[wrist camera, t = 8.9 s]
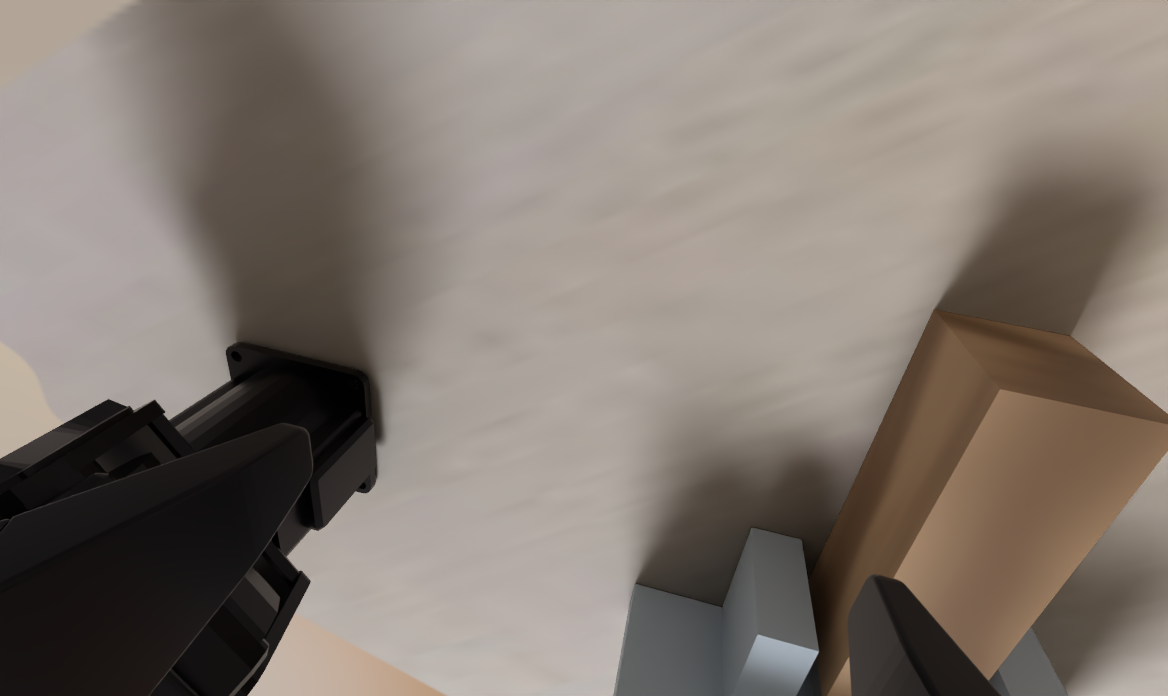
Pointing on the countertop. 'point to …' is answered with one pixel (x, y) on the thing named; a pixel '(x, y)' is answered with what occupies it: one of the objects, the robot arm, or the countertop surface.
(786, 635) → the grey buttressed wall
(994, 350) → the light brown long block
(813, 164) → the countertop surface
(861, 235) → the countertop surface
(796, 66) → the countertop surface
